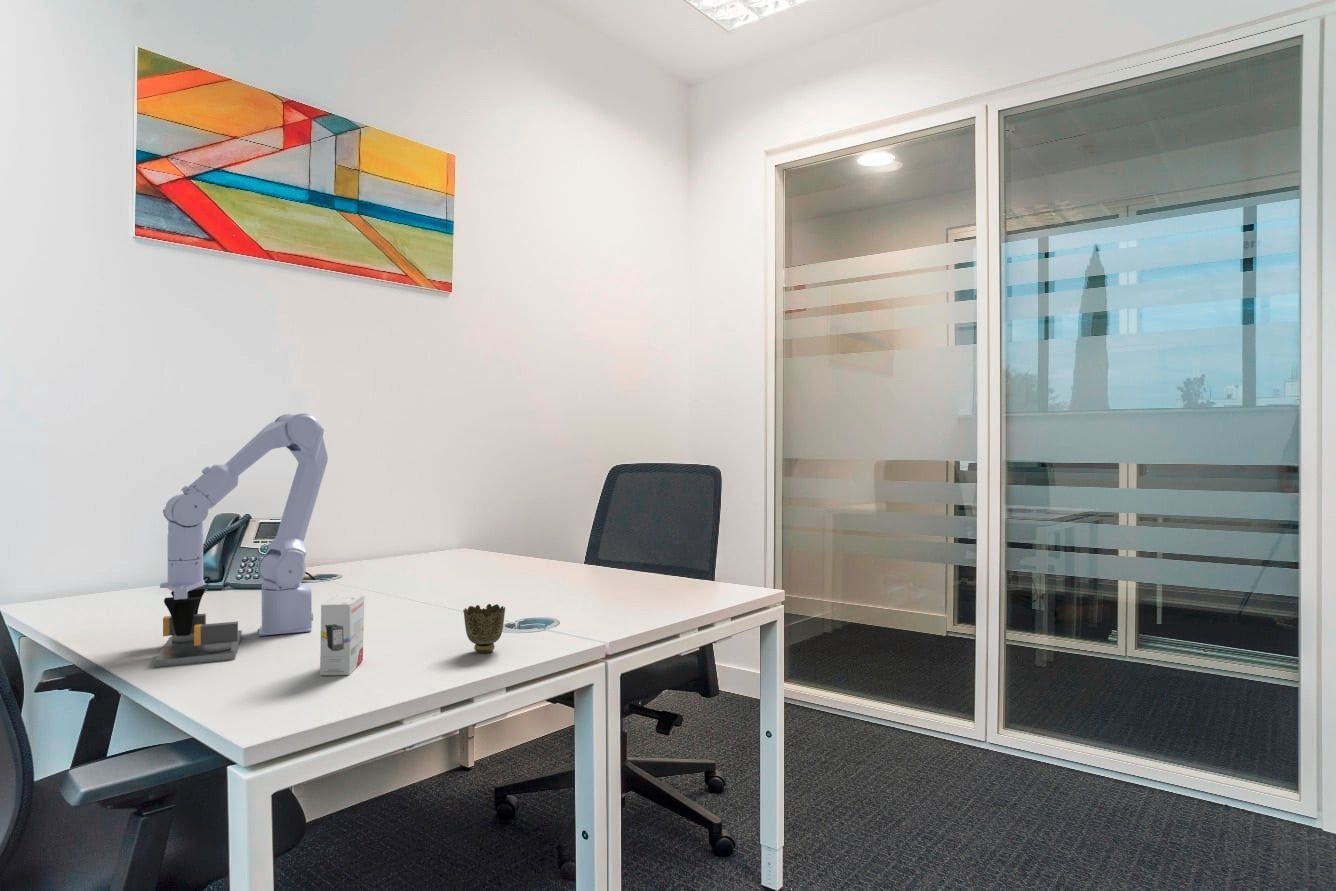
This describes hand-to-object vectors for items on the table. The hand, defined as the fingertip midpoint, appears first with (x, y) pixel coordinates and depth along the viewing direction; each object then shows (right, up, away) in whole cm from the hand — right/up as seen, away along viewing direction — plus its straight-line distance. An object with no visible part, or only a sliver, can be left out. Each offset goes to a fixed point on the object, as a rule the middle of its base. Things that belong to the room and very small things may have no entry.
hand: (185, 631), depth 148 cm
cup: (+57, -3, -3) cm, 57 cm away
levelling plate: (+5, -3, -3) cm, 6 cm away
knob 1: (0, -2, 0) cm, 2 cm away
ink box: (+35, -3, -14) cm, 38 cm away
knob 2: (+10, -2, -7) cm, 12 cm away
